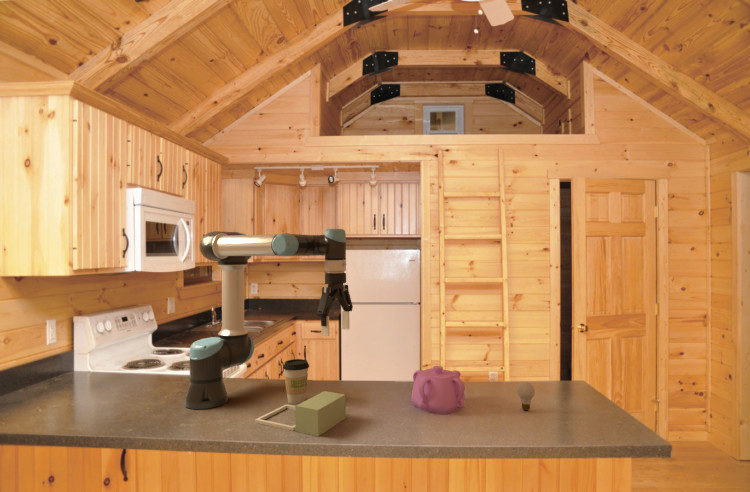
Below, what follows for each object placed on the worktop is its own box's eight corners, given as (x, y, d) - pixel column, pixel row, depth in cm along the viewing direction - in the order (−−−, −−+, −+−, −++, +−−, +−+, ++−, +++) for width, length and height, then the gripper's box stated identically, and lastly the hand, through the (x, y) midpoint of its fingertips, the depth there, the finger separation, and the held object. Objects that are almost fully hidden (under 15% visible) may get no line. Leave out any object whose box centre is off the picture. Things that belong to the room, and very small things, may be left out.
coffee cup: (303, 407, 161) (303, 365, 162) (278, 405, 163) (278, 364, 164) (313, 398, 171) (312, 359, 171) (289, 396, 173) (288, 358, 173)
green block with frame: (255, 422, 147) (254, 398, 147) (286, 407, 162) (286, 384, 162) (318, 436, 136) (317, 410, 136) (345, 418, 150) (345, 394, 150)
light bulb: (534, 408, 158) (534, 380, 158) (535, 414, 152) (534, 385, 153) (517, 407, 160) (517, 379, 160) (517, 412, 154) (516, 383, 154)
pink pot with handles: (412, 415, 153) (412, 373, 153) (411, 395, 174) (410, 358, 174) (468, 416, 152) (468, 374, 152) (460, 396, 173) (460, 359, 173)
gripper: (325, 274, 145) (325, 339, 144) (361, 271, 167) (362, 327, 167) (306, 273, 148) (306, 337, 148) (344, 270, 170) (344, 326, 170)
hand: (335, 332), depth 157 cm, fingers open, 13 cm apart
